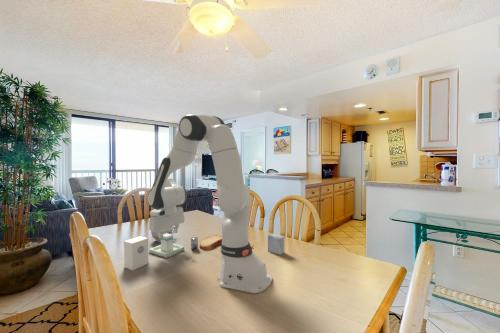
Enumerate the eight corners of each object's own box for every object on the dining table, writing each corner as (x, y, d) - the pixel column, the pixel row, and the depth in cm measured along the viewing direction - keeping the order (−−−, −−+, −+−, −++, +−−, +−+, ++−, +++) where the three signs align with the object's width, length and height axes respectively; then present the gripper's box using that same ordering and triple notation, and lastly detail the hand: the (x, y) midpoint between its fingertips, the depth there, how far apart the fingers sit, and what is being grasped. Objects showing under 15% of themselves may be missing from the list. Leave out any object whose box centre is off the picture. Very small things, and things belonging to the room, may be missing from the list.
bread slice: (201, 252, 124) (201, 245, 124) (195, 241, 141) (195, 234, 141) (233, 246, 131) (233, 240, 131) (224, 237, 148) (223, 231, 148)
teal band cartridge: (173, 249, 124) (173, 234, 124) (167, 252, 121) (167, 237, 120) (167, 247, 127) (166, 233, 127) (160, 250, 123) (160, 235, 123)
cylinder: (199, 248, 128) (199, 237, 128) (194, 250, 125) (194, 239, 125) (194, 247, 130) (194, 236, 130) (189, 249, 127) (189, 238, 126)
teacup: (156, 245, 132) (156, 231, 131) (147, 240, 140) (147, 227, 140) (180, 239, 143) (180, 226, 142) (170, 234, 151) (170, 222, 151)
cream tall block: (149, 263, 109) (148, 238, 109) (133, 270, 103) (132, 243, 102) (140, 260, 113) (139, 235, 113) (123, 266, 106) (123, 240, 106)
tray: (184, 250, 126) (184, 246, 126) (166, 258, 115) (166, 254, 115) (167, 245, 132) (167, 242, 132) (149, 252, 122) (149, 249, 122)
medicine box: (284, 252, 122) (284, 236, 122) (279, 255, 119) (279, 238, 118) (272, 249, 127) (272, 233, 127) (267, 251, 124) (267, 235, 124)
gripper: (178, 205, 134) (179, 229, 134) (146, 212, 116) (147, 240, 117) (186, 206, 131) (187, 230, 131) (154, 214, 113) (155, 242, 114)
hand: (168, 235), depth 124 cm, fingers open, 8 cm apart
